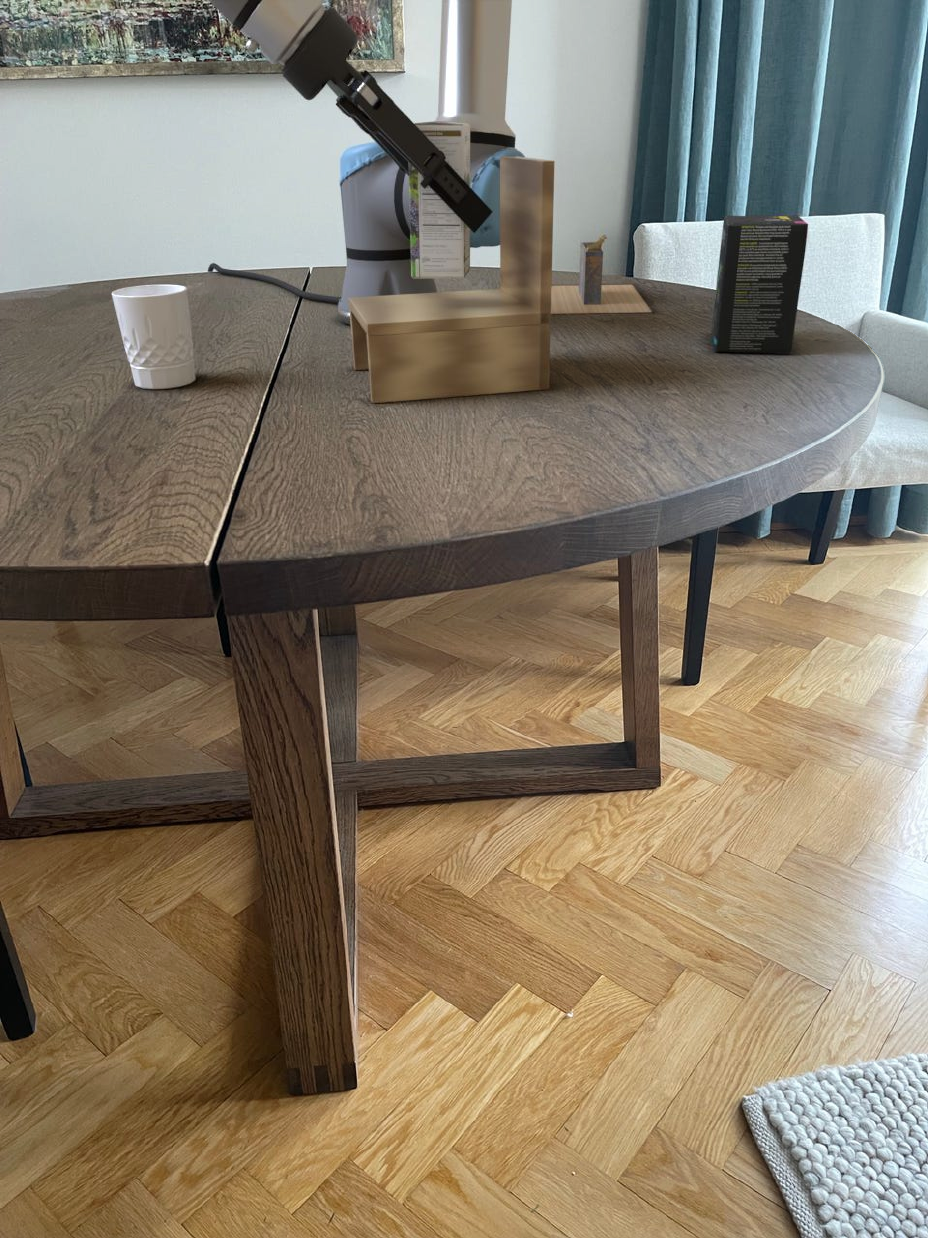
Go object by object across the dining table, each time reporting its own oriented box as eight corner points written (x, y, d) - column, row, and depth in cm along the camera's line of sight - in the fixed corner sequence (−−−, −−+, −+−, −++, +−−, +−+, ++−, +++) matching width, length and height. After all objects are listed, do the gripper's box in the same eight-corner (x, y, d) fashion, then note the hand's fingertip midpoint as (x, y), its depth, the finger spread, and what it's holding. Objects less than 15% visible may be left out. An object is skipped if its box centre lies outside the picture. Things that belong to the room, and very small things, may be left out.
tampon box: (792, 355, 111) (812, 222, 104) (713, 353, 113) (726, 222, 106) (783, 336, 120) (801, 213, 113) (710, 334, 122) (723, 213, 115)
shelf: (372, 403, 96) (356, 167, 85) (353, 368, 110) (338, 160, 99) (549, 389, 100) (554, 160, 89) (509, 356, 113) (510, 155, 103)
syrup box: (418, 271, 102) (413, 121, 95) (472, 271, 101) (470, 120, 95) (410, 279, 97) (404, 121, 90) (467, 279, 96) (464, 120, 90)
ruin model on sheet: (652, 312, 136) (657, 241, 132) (540, 313, 137) (541, 243, 133) (632, 284, 158) (636, 222, 154) (536, 285, 159) (537, 224, 155)
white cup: (214, 375, 108) (201, 285, 103) (174, 393, 101) (158, 297, 96) (156, 371, 110) (141, 283, 105) (114, 388, 103) (95, 294, 99)
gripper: (272, 74, 96) (431, 237, 107) (283, 64, 79) (471, 258, 90) (319, 13, 94) (476, 184, 105) (340, -11, 77) (525, 196, 88)
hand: (473, 218), depth 97 cm, fingers closed on syrup box, 7 cm apart
